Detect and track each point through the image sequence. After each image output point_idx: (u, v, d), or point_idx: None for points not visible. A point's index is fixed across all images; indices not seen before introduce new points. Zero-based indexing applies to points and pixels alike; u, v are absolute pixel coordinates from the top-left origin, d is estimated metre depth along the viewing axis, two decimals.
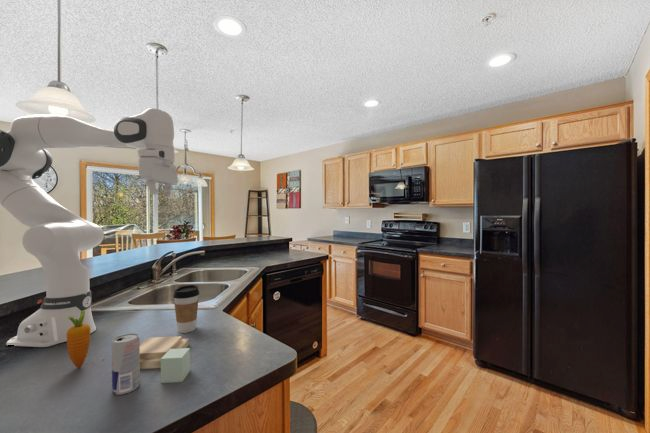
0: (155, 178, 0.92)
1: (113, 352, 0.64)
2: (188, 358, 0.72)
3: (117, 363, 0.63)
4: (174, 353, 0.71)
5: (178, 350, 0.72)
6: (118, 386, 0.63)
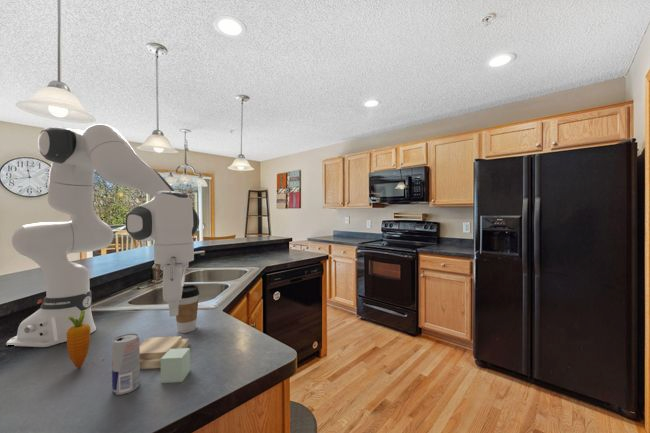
0: None
1: (113, 352, 0.64)
2: (188, 358, 0.72)
3: (117, 363, 0.63)
4: (174, 353, 0.71)
5: (178, 350, 0.72)
6: (118, 386, 0.63)
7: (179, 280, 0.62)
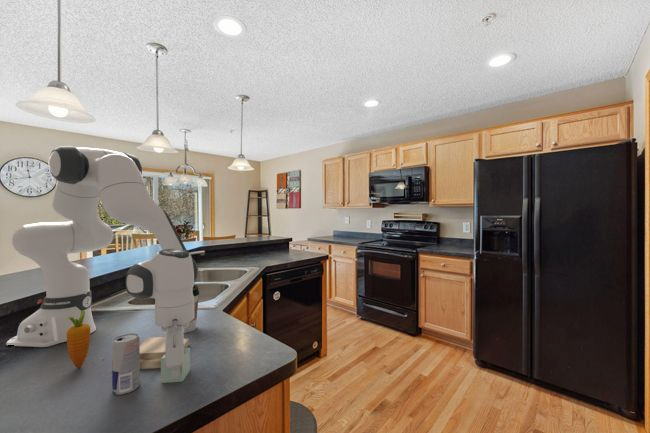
0: None
1: (113, 352, 0.64)
2: (188, 358, 0.72)
3: (117, 363, 0.63)
4: None
5: None
6: (118, 386, 0.63)
7: (181, 346, 0.63)
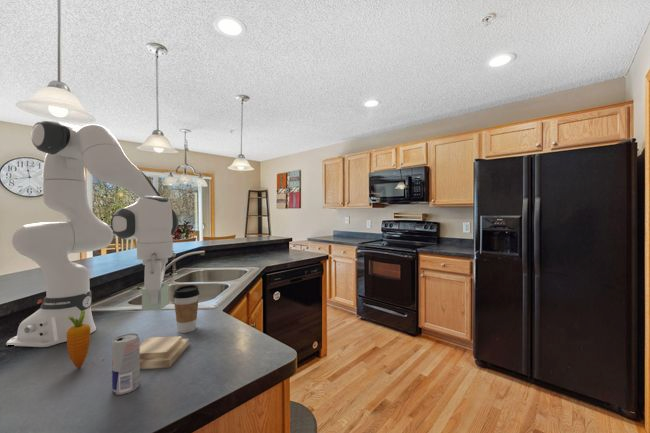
0: None
1: (113, 352, 0.64)
2: (167, 292, 0.82)
3: (117, 363, 0.63)
4: None
5: None
6: (118, 386, 0.63)
7: (159, 273, 0.73)
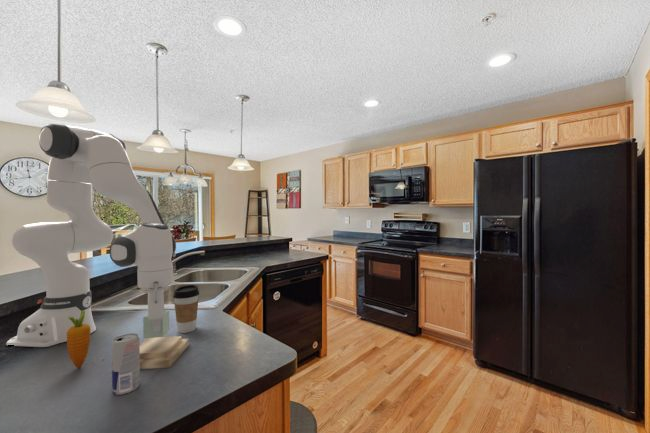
0: None
1: (113, 352, 0.64)
2: (168, 318, 0.83)
3: (117, 363, 0.63)
4: None
5: None
6: (118, 386, 0.63)
7: (162, 302, 0.73)
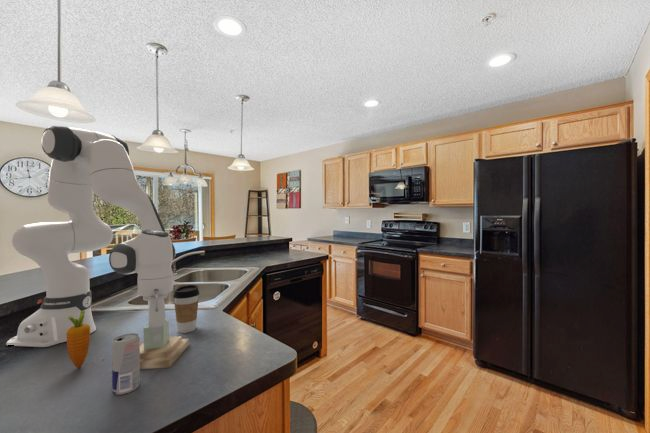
0: None
1: (113, 352, 0.64)
2: (167, 328, 0.83)
3: (117, 363, 0.63)
4: None
5: None
6: (118, 386, 0.63)
7: (163, 310, 0.73)
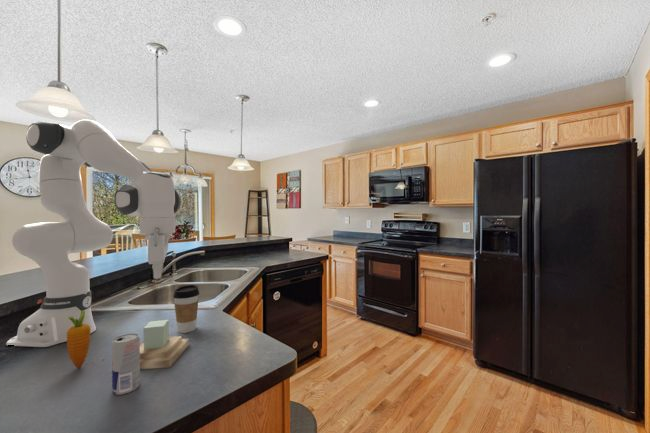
0: None
1: (113, 352, 0.64)
2: (167, 328, 0.83)
3: (117, 363, 0.63)
4: (154, 323, 0.81)
5: (158, 322, 0.82)
6: (118, 386, 0.63)
7: (162, 246, 0.74)
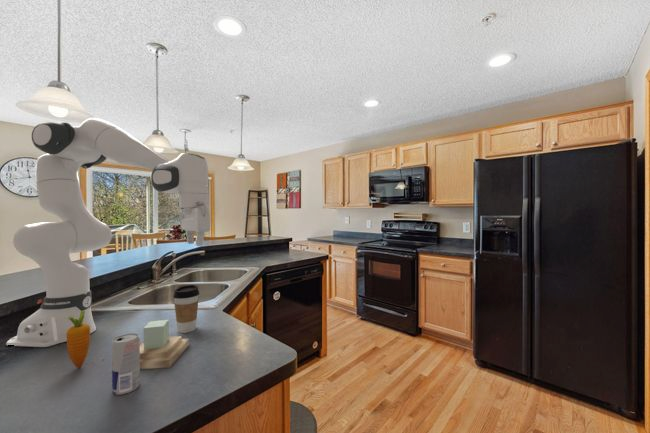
0: (183, 228, 0.96)
1: (113, 352, 0.64)
2: (167, 328, 0.83)
3: (117, 363, 0.63)
4: (154, 323, 0.81)
5: (158, 322, 0.82)
6: (118, 386, 0.63)
7: (209, 216, 0.86)
